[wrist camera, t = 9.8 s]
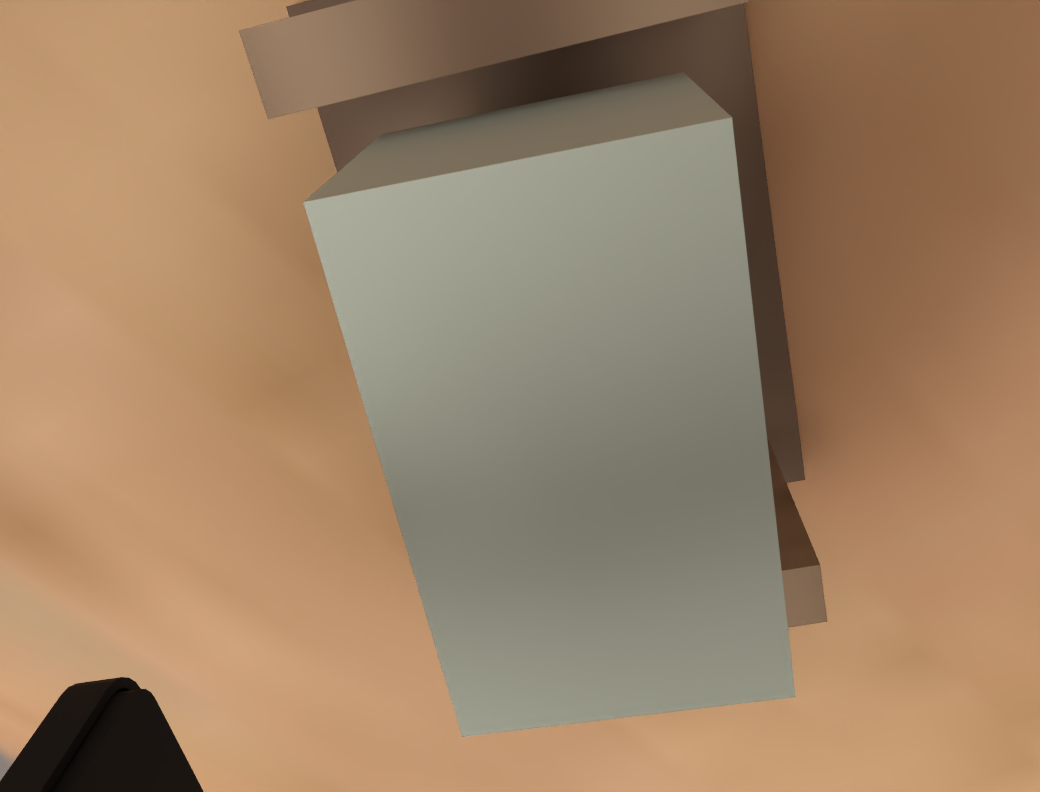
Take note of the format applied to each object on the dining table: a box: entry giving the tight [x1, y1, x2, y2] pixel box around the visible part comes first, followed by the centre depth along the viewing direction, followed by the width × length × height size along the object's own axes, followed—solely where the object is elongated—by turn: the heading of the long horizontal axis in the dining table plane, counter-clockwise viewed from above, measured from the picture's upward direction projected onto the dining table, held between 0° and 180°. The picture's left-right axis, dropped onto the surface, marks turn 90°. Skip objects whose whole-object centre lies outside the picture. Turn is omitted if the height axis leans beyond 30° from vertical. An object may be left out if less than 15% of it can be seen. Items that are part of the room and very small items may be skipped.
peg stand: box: [239, 0, 827, 627], centre depth 23 cm, size 11×16×8 cm
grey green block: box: [303, 72, 795, 737], centre depth 18 cm, size 6×10×6 cm, turn 12°
